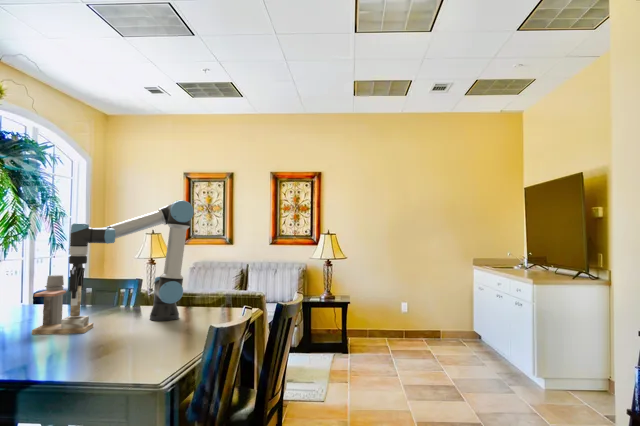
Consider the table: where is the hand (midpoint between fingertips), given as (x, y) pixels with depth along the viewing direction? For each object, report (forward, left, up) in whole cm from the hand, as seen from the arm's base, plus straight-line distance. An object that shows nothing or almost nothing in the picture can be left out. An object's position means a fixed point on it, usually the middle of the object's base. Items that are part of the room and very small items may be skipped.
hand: (75, 304), depth 204 cm
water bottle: (+14, -12, -13) cm, 22 cm away
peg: (0, 0, -5) cm, 5 cm away
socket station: (+5, -1, -12) cm, 13 cm away
